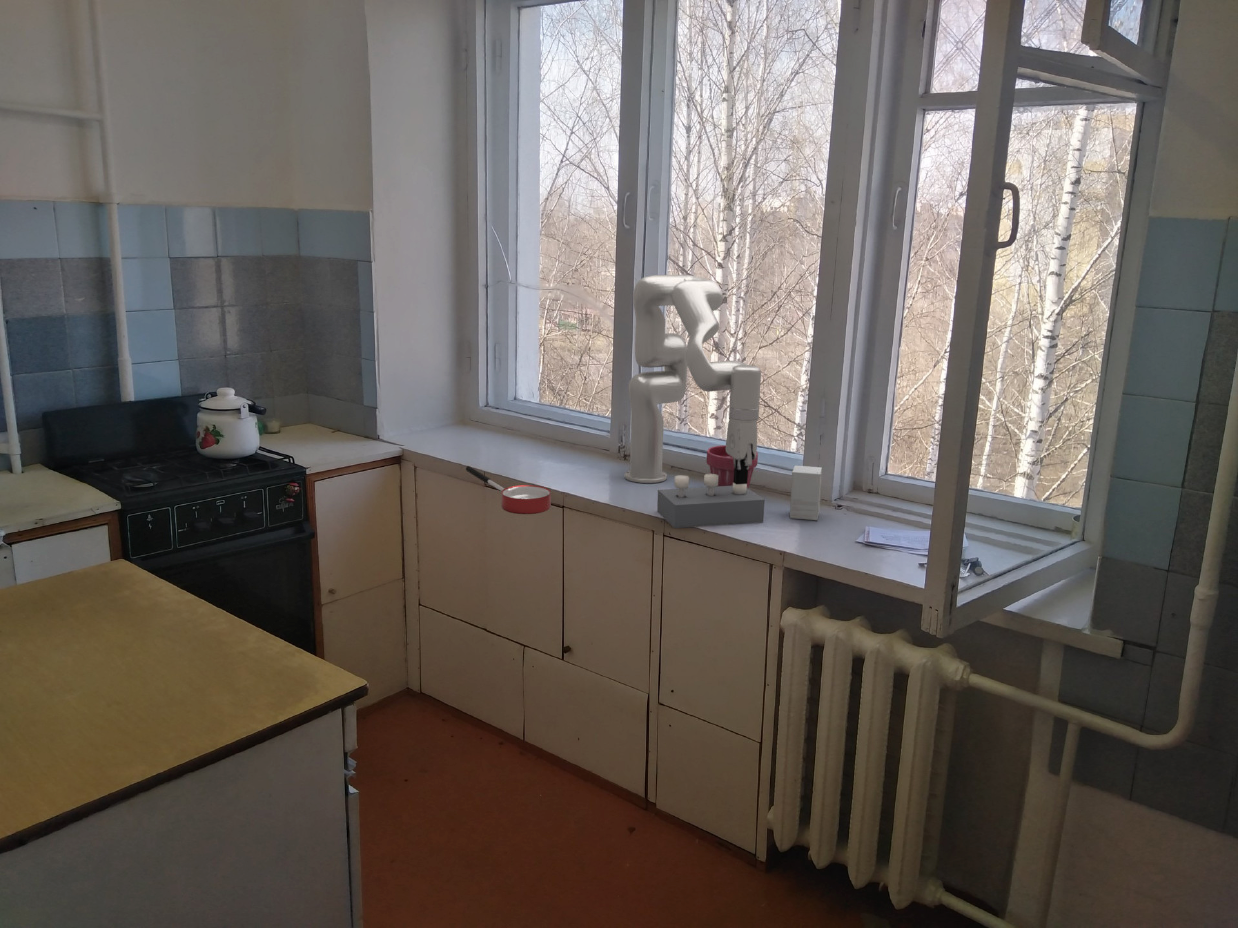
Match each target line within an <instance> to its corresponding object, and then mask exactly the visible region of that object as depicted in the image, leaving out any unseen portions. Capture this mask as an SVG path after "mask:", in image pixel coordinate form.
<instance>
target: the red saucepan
mask: <svg viewBox="0 0 1238 928" xmlns="http://www.w3.org/2000/svg"><path fill="white" fill-rule="evenodd" d="M465 471H466V472H468V473H469V474H471V475H473V476H474V477H476V478H477V479H479V480H480V481H482V482H484V483H485V484H486V485H487V484H488V485H490V486H491V487H493V488H494V489H495V488H496V489H497V490H498V491H500V493H501V495H500V499H501V509H502V510H504V511H505V512H507V513H511V514H517V515H535V514H536V515H537V514H541V513H544V512H547V511H548V510H549V509H550V508H551V506H552V491H551V490H550V489H549V488H548V487H544V486H541V485H531V484H529V485H528V484H522V485H519V484H518V485H514V486H508V487H506V488H504V487H503V486H501V485H499V484H498V483H497V482H494V481H493V480H491V477H490V478H489V477H488V476H487V475H485V474H483V473H481V472H480V471H478V470H477V469H475V468H474V467H471V466H469V465H467V466H466V468H465Z"/></svg>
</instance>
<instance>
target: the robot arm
mask: <svg viewBox="0 0 1238 928" xmlns="http://www.w3.org/2000/svg"><path fill="white" fill-rule="evenodd" d="M723 294H724V293H723V290H722V289H721V287H720V285H719V284H718V283H717V282H716V281H714V280H712V279H708V278H704V277H699V276H695V275H691V274H655V275H654V274H653V275H647V276H645V277H642V278H641V279H639V280H638V281H637V283H636V284H635V285H634V288H633V292H632V303H633V308H634V314H635V315H634V317H635V330H634V331H635V332H634V334H635V335H634V358H635V362H636V364H637V365H638V366H640V367H642V368H647V369H649V368H663V369H664V370H659V371H658V370H656V371H644V372H640V373H637V374H635V375H633V377H632V378H630V380H629V382H628V395H629V397H628V398H629V401H630V402H629V403H630V415H631V416H630V457H629V458H630V461H629V470H627V471H626V472H624V478H625V480H627V481H630V482H632V483H639V484H641V483H642V484H654V483H660V482H664V481H666V480H667V479H668V474H667V473H666V472H665V471H663V456H664V455H663V453H664V452H663V451H664V426H665V425H664V417H663V414H662V413H661V411H660V409H659V406H658V405H663V404H672V403H677V402H679V401H682V399H683V398H684V396H685V395H686V391H687V384H688V383H687V381H688V370H689V373H690V375H691V377H692V379H693V381H694V382H695V384H696V386H697V387H698V388H699V389H700V390H702V391H704V392H709V393H710V392H720V391H729V405H728V406H729V408H728V409H729V411H728V424H727V432H726V439H725V440H726V441H725V445H726V452H727V454H729V455H730V456H732V457H733V459H734V481H733V482H734V483H735V484H747V478H748V469H749V466H751V465H752V460H754V459H755V458H756V453H757V452H758V451H757V450H758V424H757V422H758V421H759V417H760V399H761V398H760V397H761V383H762V382H761V380H762V379H761V378H762V372H761V371H762V370H761V369H760V367H759V366H757V365H752V364H751V365H750V364H745V363H744V362H743V361H739V360H721V361H709V359H708V357H707V356H706V353H705V351H704V346H703V344H704V343H707V341H710V339H712V338H713V337H714V336H715V335H716V334H717V333H718V331H719V330H720V323H719V321H718V319H717V317H716V315H715V314H714V311H717V310H718V309H719V308H720V307H721V306H722V305H723V299H724V297H723V296H724V295H723ZM663 306H665V307H666V306H668V307H669V306H674V307H675V310H676V313H677V314H678V316H679V318H680V320H681V323H682V324H683V327H684V328H685V330H686V333H687V335H688V337H689V339H688V342H687V343H686V340H685V339H684V337H683V336H682V335H680V334H678V333H671V332H669V333H668V332H667V333H666V317H665V315H664V312H663V310H662V309H661V307H663Z"/></svg>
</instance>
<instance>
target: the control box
mask: <svg viewBox="0 0 1238 928" xmlns="http://www.w3.org/2000/svg"><path fill="white" fill-rule="evenodd" d="M732 491H733V486H718V487H714V496H707V493H708V486H704V487H703V486H702V487H701V486H700V487H688V488H685V493H684V498H678V488H670V489H668V488H667V489H658V490H657V504H656V505H657V506H656V507H657V509H656V513H658V514H659V515H660V516H661V517H662V518H663V519H664V520H665V521H666V522H667V523H668V524H670V525H671V527H672V528H673V529H680V528H681V529H682V528H683V529H684V528H695V527H696V528H697V527H710V526H711V527H713V526H727V525H728V526H729V525H739V524H741V525H743V524H755V523H757V524H758V523H764V518H765V517H764V515H765V499H764V498H763V497H761V495H758V494H757V493H756V492H754V491H752V490H751V489H750V488H747V491H746V494H734V493H733V492H732Z"/></svg>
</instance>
